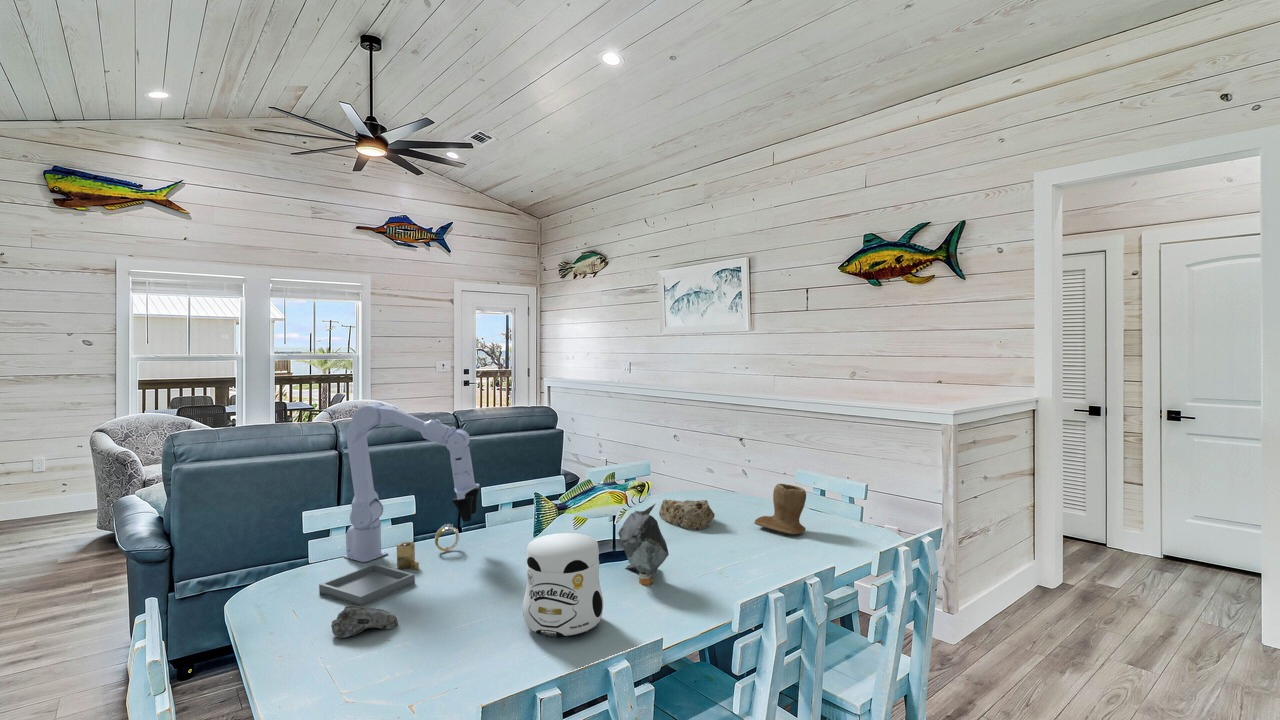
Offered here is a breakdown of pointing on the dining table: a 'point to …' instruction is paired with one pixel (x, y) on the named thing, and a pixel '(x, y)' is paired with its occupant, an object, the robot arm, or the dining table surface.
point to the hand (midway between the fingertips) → (469, 517)
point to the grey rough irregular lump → (361, 620)
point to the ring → (443, 532)
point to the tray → (366, 584)
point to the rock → (687, 513)
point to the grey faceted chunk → (643, 544)
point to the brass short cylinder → (406, 556)
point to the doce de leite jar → (562, 585)
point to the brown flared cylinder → (785, 510)
